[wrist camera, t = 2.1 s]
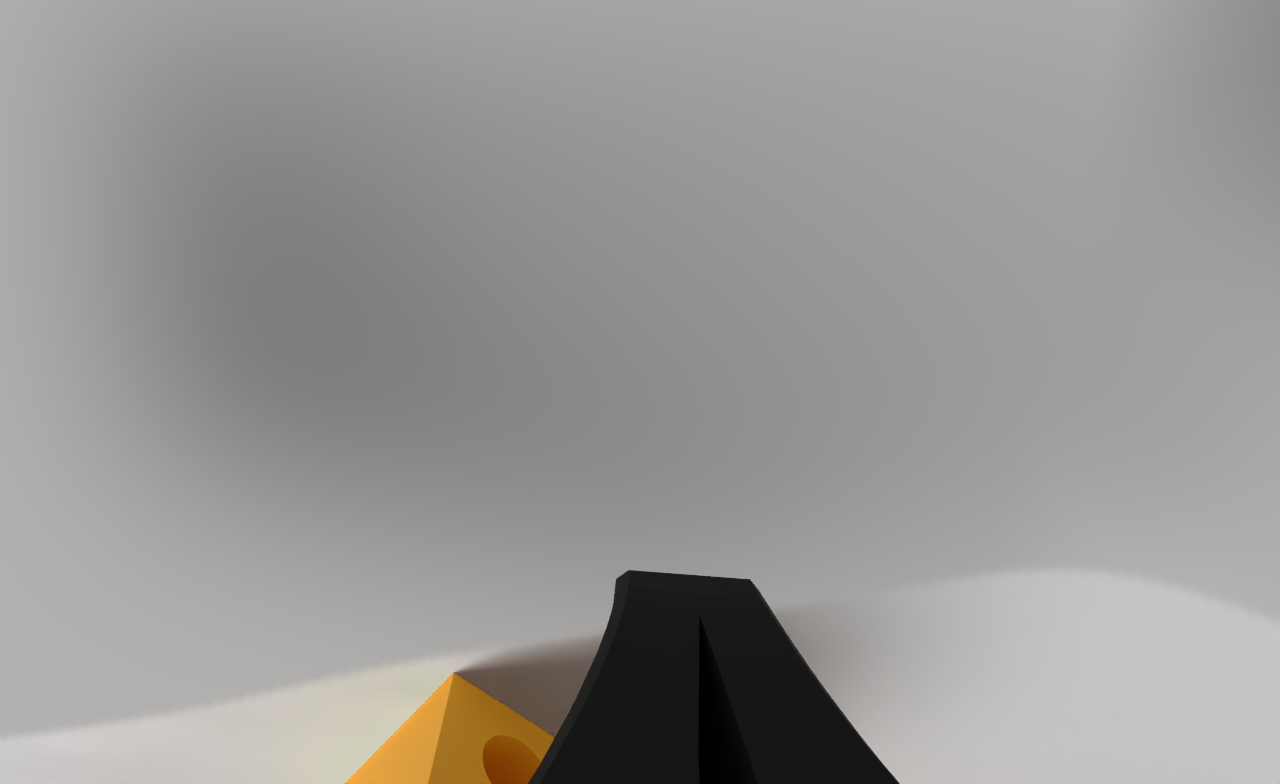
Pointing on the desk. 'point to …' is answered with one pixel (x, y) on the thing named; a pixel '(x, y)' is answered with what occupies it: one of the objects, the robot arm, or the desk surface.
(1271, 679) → the desk surface
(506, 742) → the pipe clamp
